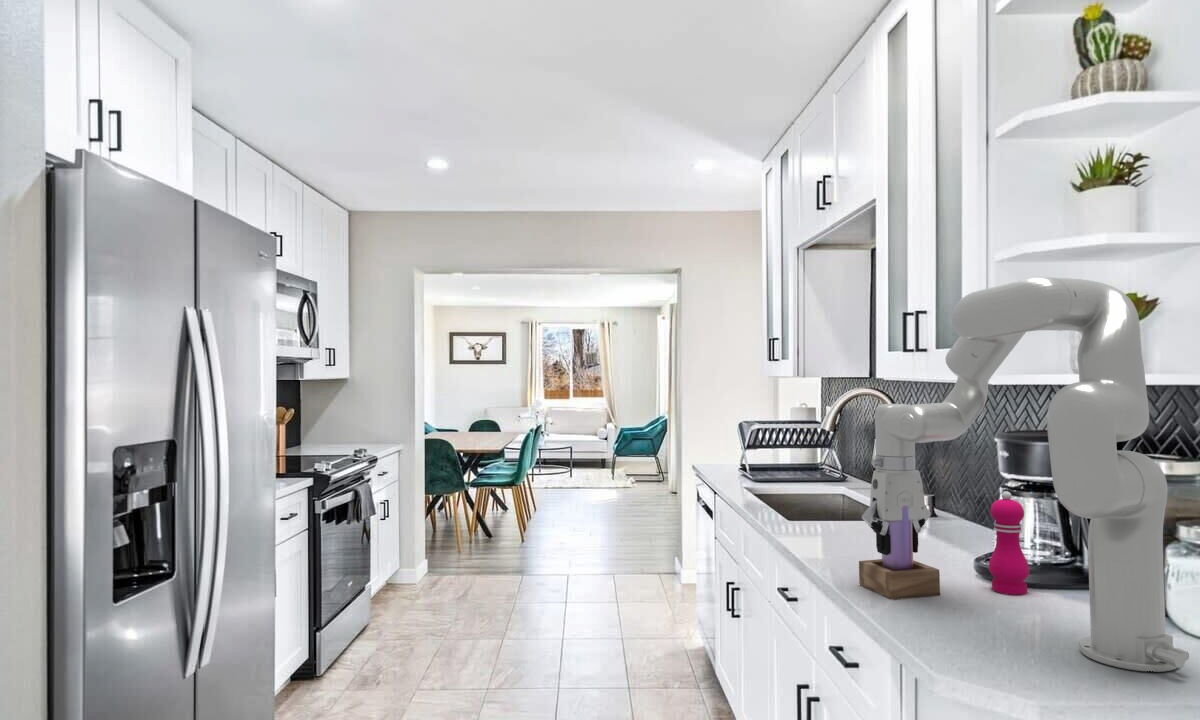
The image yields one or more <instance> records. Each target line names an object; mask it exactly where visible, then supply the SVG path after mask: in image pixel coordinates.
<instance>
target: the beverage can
mask: <svg viewBox="0 0 1200 720" xmlns="http://www.w3.org/2000/svg"><path fill="white" fill-rule="evenodd" d="M907 507H908V506H903V508H901V509H902V520H901V521H897V522H890V523H889V526H888V529H887V532H886V535H888V536H889V555H884V554H881V559H882V567H884V568H886V569H889V570H891V571H901V570H913V560H914V552H913V527H912V521H911V520H909V516H908V509H909V508H907Z"/></svg>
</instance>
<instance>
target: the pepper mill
mask: <svg viewBox="0 0 1200 720" xmlns="http://www.w3.org/2000/svg"><path fill="white" fill-rule="evenodd" d="M1012 497H1013V496H1012V493H1011V492H1009V491H1003V492H1002V493H1001V499H997V500H995V501H994V502H993V503H992V504H991V506H990V511H989V512H990V516H991V517H992V518H993V520H994V521H995V522H993V530H994V531H995V532H996V543H995V547H994V550H993V552H992V554H991V556H990V557H989V562H988V571H989V573H990V575H992V577H993V579H992V580H991V589H992V590H993V592H996V593H999V594H1003V595H1007V596H1008V595H1009V596H1023V595H1026V594H1027V593H1028V583H1026V582H1025V580H1026V579H1027V578H1028V576H1029V575H1030V566H1029V564H1028V561H1027V559H1026V556H1025V555H1024V552H1023V550H1022V548H1021V545H1020V543H1021V542H1020V533H1021V532H1022V531H1023V529H1022V524H1021V523H1020V522H1021V521H1022V520H1023V519H1024V517H1025V510H1024V507H1023V506H1022V505H1021V503H1020V502H1018V501H1017V500H1014V499H1012Z"/></svg>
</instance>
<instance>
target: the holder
mask: <svg viewBox="0 0 1200 720" xmlns="http://www.w3.org/2000/svg"><path fill="white" fill-rule="evenodd" d="M858 578H859V579H858V582H859V584H860V585H859V584H858V585H859V586H861V585H862V586H861V587H863V586H864V587H863V588H865V587H866V588H865V589H867V588H868V589H867V590H869V589H871V590H873V591H872V592H874V591H875V592H874V593H876V592H877V593H876V594H878V593H879V595H880V594H881V595H880V596H882V595H883V597H884V596H885V597H884V598H887V599H889V600H891V599H894V600H902V599H901V598H904V599H912V598H913V597H914V598H922V597H923V598H924V597H934V596H941V585H940V583H941V579H940V569H939V568H935V567H934V566H930V565H928V564H925V563H922V562H920V561H916V560H914V559H913V570H901V571H891V570H889V569H886V568H884V567H882V558H880V559H879V558H877V559H869V560H858ZM871 590H870V591H871Z"/></svg>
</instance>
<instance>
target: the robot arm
mask: <svg viewBox="0 0 1200 720" xmlns="http://www.w3.org/2000/svg"><path fill="white" fill-rule="evenodd" d="M1140 324H1141V322H1140V319H1139V313H1138V311H1137V308H1136V306H1135V304H1134V302H1133V301H1132V300H1131V298H1130V297H1129V296H1128V295H1127V294H1125V293H1124V292H1123V291H1122V290H1120V289H1118V288H1116V287H1115V286H1112V285H1109V284H1107V283H1103V282H1098V281H1094V280H1089V279H1081V278H1079V279H1078V278H1071V277H1070V278H1064V277H1048V276H1039V277H1037V276H1036V277H1030V278H1025V279H1020V280H1017V281H1013V282H1009V283H1005V284H1001V285H995V286H993V287H989V288H984V289H980V290H976V291H973V292H970V293H968V294H966V295H965V296H964V297H962V298H961V299H960V300H959V301H958V302H957V303H956V304H955V306H954V308H953V311H952V314H951V325H952V327H953V330H954V331H955V332H956V334H957V335H958V336H959V337H958V338H957V340H956V341H955V342H954V344H953V345H952V346H951V348H950V349H949V350H948V352H947V353H946V355H945V364H946V366H947V368H949V370H950V371H951V372H952V373H953V374H954V375H955V376H957V377H956V378H957V379H956V382H955V384H954V386H953V388H952V389H951V391H949V393H948V394H947V396H946V397H945V399H944V400H943V401H942V402H932V403H916V404H906V403H882V404H879V405H877V406H876V408H875V410H874V425H875V426H874V427H875V428H874V429H875V459H872V460H871V461H870V462H871V465H872V466H873V467H875V469H876V470H873V473H872V478H871V486H870V502H869V506H868V507H867V509H866V510H865V511H864V512H863V513H862V515H861V519H862V520H863V521H864V522H865V523H866V524H867V525H868V526H869V527H870V528H871V530H872V531H873V533H874V534H875V537H876V538H875V541H876V549H877V550H876V551H877V553H879V554H881V555H882V554H884V555H889V536H888V535H886V532H887V529H888V526H889V523H890V522H897V521H901V520H902V509H901V508H903V506H908V507H907V508H909V509H908V516H909V520H911V521H912V527H913V554H914V553H918V552H919V533H921V531H922V528H923V527H924V525H925V524H926V522H927V520H928V519H930V517H931V515H932V512H931V511H930V509H928V507H926V502H925V494H924V492H925V491H924V487H923V486H924V485H923V480H922V476H921V474H920V470H916V444H920V443H922V444H924V443H931V442H932V443H933V442H943V441H945V442H946V441H952V440H955V439H958V437H959V438H960V436H962V435H963V434H964V433H965V432H966V431H967V430H968V429H969V428H970V427H971V425H972V424H974V422H975V421H976V419H977V418H978V417H979V415H980V414H981V413H982V411H983V410H984V408H985V405H986V402H987V399H988V395H989V394H988V393H989V382H990V379H991V378H992V377H993V375H994V374H995V373H996V371H997V370H998V369H999V368H1000V366H1001V365H1002V364H1003V362H1004V361H1005V359H1006V358H1007V357H1008V356H1009V354H1010V353H1011V352H1012V351H1013V350H1014V348H1015V347H1016V346H1017V345H1018V343H1019V342H1020V341H1021V339H1022V338H1023V337H1024V335H1025V334H1026V333H1029V332H1036V331H1073V332H1079V333H1080V334H1081V338H1080V341H1079V344H1078V348H1077V353H1076V354H1077V357H1076V359H1077V360H1076V361H1077V365H1078V366H1077V367H1078V380H1079V381H1078V382H1073V383H1070V384H1068V385H1065V386H1064V387H1061V388H1060V390H1058V391H1057V392H1056V393H1055V394H1054V396H1053V397H1052V398H1051V401H1050V402H1049V404H1048V405H1049V406H1048V409H1047V415H1046V428H1047V440H1048V448H1049V460H1050V469H1051V477H1052V485H1053V488H1054V492H1055V494H1056V496H1057V499H1058V500H1059V503H1061V504H1062V506H1063V507H1064V508H1065V509H1066V510H1067V511H1068V512H1070V513H1072V514H1073V515H1075V516H1077V517H1079V518H1080V517H1081V518H1085V519H1089V520H1090V521H1089V525H1088V526H1089V527H1088V533H1087V536H1088V537H1087V556H1088V557H1087V558H1088V561H1087V562H1088V588H1089V618H1090V619H1089V620H1090V622H1089V623H1090V636H1088V637H1084V638H1082V639H1081V640H1080V641H1079V651H1080V652H1081V653H1082V654H1083V655H1084V656H1086V657H1088V658H1089V659H1092V660H1094V661H1096V662H1098V663H1101V664H1104V665H1108V666H1110V667H1111V666H1112V667H1115V668H1119V669H1123V670H1124V669H1125V670H1131V671H1137V672H1138V671H1139V672H1147V671H1148V672H1149V671H1151V672H1152V671H1153V672H1152V673H1160V672H1163V673H1164V672H1170V671H1171V672H1172V671H1174V670H1176V669H1178V668H1182V667H1184V666H1185V663H1186V661H1188V660H1189V659H1190V653H1189V652H1188V651H1186V650H1183V649H1180V648H1176V647H1174V644H1173V643H1174V640H1173V639H1174V637H1173V635H1170V634H1167V632H1166V609H1165V608H1166V607H1165V606H1166V605H1165V582H1164V581H1165V580H1164V578H1165V577H1164V576H1165V575H1164V543H1163V542H1164V540H1163V539H1164V535H1163V534H1164V521H1165V514H1166V506H1167V500H1168V482H1167V478H1166V476H1165V473H1164V470H1163V469H1162V468H1161V467H1160V466H1159V464H1158V463H1157V462H1156V461H1155V460H1153V459H1152V458H1151V457H1150V456H1147V455H1145V454H1143V453H1141V452H1138V451H1133V450H1132V451H1131V450H1120V449H1119V450H1118V449H1117V448H1118V447H1117V443H1119V442H1127V441H1130V440H1134V439H1136V438H1138V437H1139V436H1141V435H1142V434H1144V433H1145V431H1146V430H1147V428H1148V426H1149V423H1150V409H1149V399H1148V391H1147V383H1146V375H1145V374H1146V373H1145V365H1144V360H1143V350H1142V340H1141V339H1142V338H1141V325H1140ZM1151 672H1149V673H1151Z"/></svg>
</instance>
